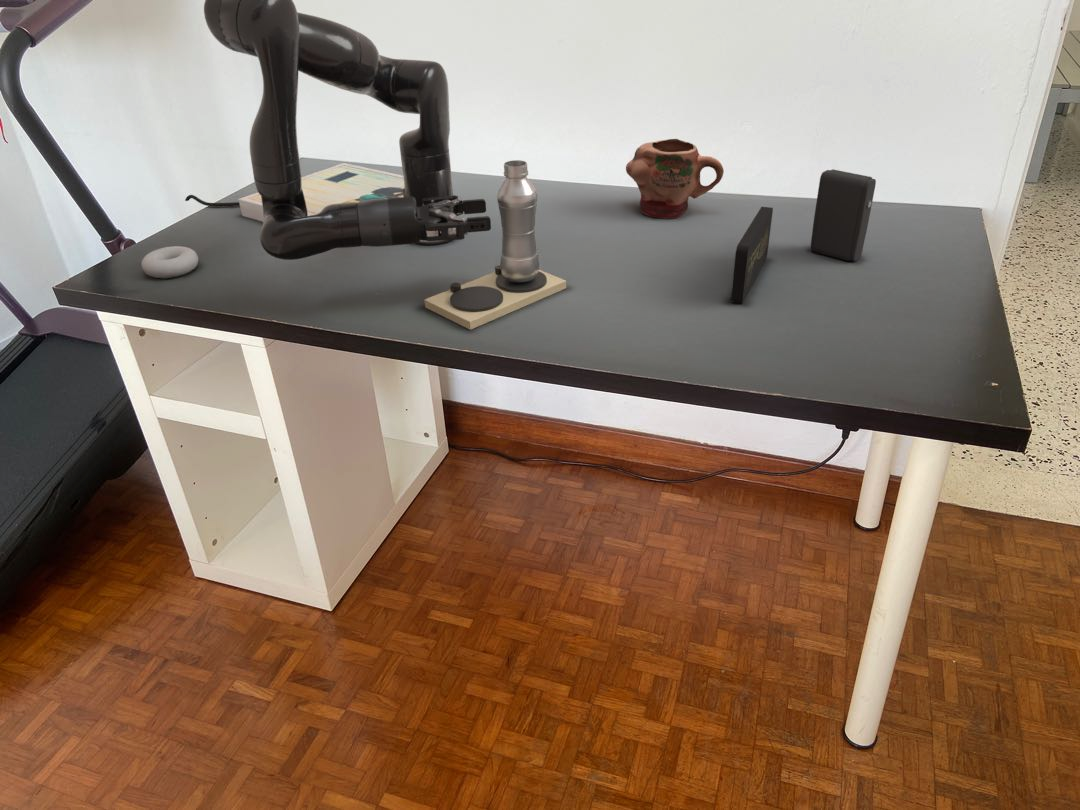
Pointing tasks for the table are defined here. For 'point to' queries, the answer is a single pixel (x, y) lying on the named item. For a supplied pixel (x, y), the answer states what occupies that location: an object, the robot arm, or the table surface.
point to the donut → (169, 262)
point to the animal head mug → (670, 176)
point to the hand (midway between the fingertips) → (488, 214)
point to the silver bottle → (518, 223)
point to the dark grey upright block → (842, 214)
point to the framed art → (335, 189)
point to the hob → (491, 297)
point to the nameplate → (751, 254)
